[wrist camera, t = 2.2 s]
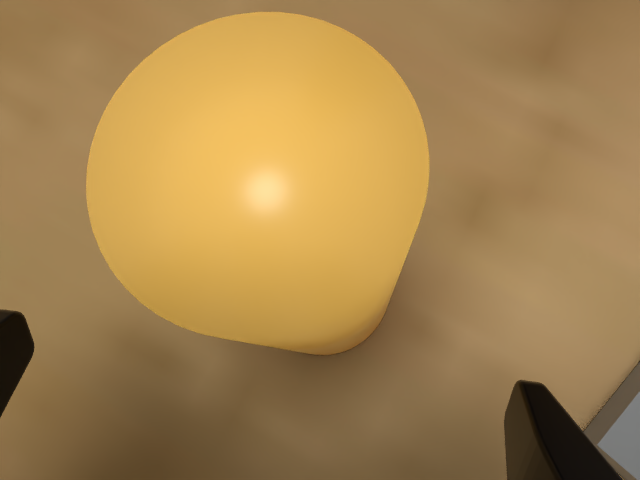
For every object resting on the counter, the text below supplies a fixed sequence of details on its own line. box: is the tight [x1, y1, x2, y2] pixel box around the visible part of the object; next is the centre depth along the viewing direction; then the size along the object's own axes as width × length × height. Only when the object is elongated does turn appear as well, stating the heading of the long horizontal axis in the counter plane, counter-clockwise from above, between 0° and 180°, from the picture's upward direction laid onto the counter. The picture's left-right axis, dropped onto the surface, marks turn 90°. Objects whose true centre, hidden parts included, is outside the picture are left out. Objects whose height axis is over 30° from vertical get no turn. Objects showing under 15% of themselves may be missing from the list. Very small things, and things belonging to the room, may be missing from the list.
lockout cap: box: [86, 12, 429, 355], centre depth 14 cm, size 5×5×12 cm
